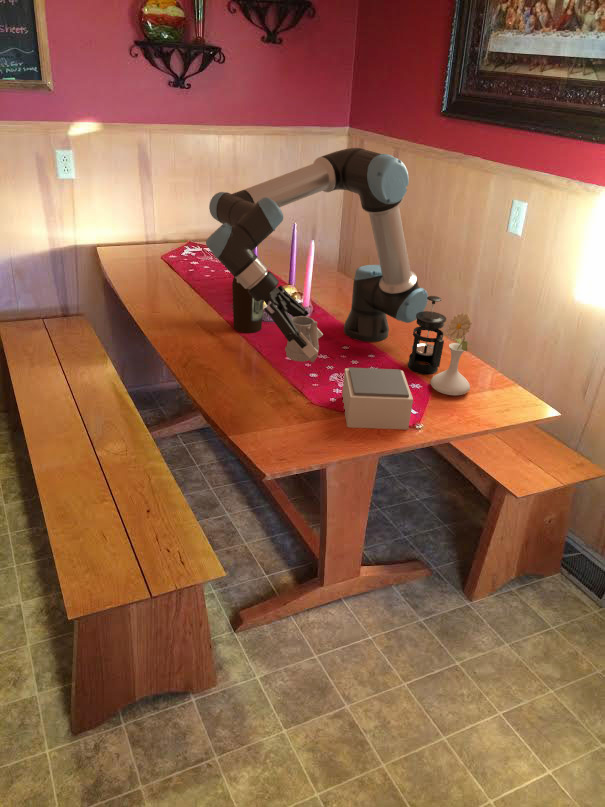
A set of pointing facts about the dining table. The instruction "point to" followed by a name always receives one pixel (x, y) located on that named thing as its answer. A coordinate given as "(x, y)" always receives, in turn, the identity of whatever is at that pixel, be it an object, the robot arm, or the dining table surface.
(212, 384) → the dining table surface
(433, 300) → the french press
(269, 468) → the dining table surface
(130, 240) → the dining table surface
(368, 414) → the stand
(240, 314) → the olive oil
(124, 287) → the dining table surface
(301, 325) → the mug
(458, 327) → the flower in vase
